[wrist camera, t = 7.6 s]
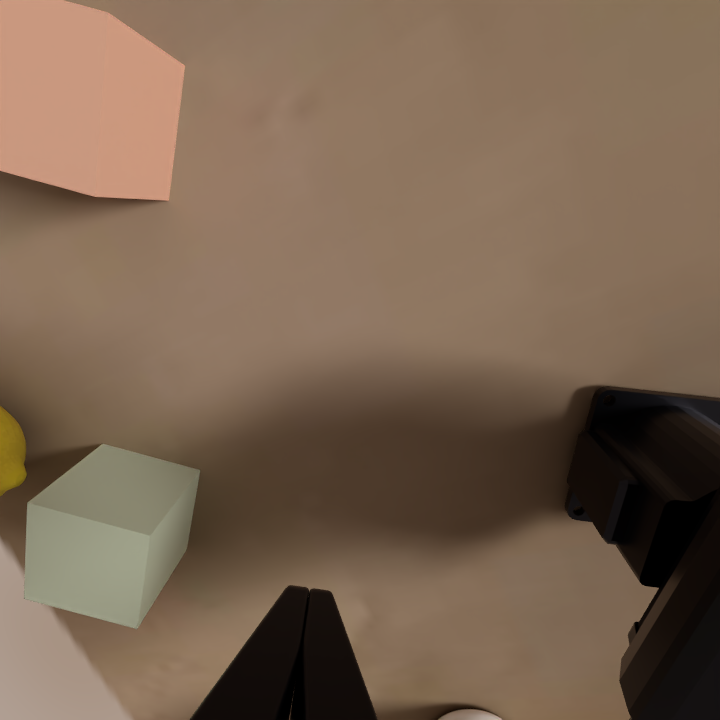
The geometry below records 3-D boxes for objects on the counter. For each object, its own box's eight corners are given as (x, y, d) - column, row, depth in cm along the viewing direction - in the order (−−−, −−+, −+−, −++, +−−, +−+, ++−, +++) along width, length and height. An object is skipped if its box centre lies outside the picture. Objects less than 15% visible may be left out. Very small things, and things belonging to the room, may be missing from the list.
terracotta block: (186, 66, 18) (108, 12, 13) (169, 200, 19) (94, 196, 14) (58, 31, 18) (-67, -36, 13) (52, 168, 19) (-61, 154, 14)
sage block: (201, 469, 23) (150, 535, 18) (187, 548, 25) (137, 629, 20) (103, 442, 23) (27, 502, 18) (96, 524, 25) (23, 598, 20)
